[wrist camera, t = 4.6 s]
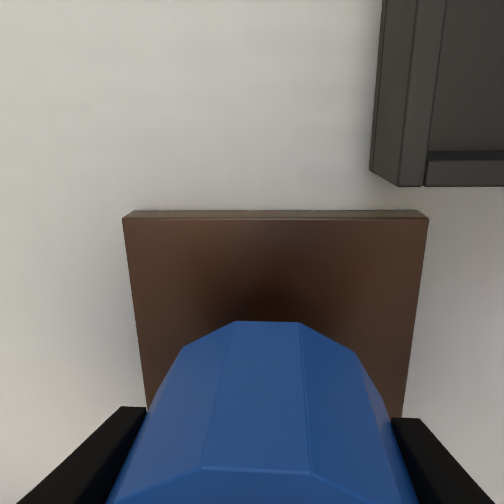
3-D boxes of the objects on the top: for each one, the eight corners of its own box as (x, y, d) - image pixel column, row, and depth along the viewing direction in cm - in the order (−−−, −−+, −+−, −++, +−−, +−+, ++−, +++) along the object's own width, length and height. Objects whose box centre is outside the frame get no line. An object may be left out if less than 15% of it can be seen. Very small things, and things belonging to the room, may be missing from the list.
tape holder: (417, 210, 12) (531, 284, 6) (388, 439, 15) (448, 619, 9) (133, 210, 12) (22, 277, 7) (160, 429, 15) (96, 591, 10)
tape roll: (390, 323, 9) (474, 482, 5) (369, 503, 10) (418, 719, 7) (148, 318, 9) (53, 459, 5) (170, 491, 11) (109, 688, 7)
